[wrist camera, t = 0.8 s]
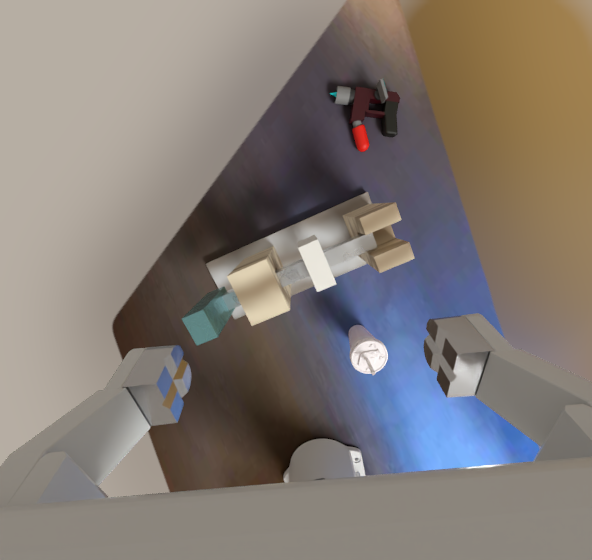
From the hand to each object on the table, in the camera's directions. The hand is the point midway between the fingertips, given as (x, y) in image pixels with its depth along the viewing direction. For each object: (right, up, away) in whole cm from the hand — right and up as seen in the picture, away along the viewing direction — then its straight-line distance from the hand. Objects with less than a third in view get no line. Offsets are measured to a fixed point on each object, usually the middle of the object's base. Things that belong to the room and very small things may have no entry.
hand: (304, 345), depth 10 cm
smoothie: (+12, -9, +49) cm, 51 cm away
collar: (+3, +6, +38) cm, 38 cm away
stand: (0, +6, +45) cm, 45 cm away
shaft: (-1, +4, +36) cm, 36 cm away
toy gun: (+11, +29, +40) cm, 50 cm away
